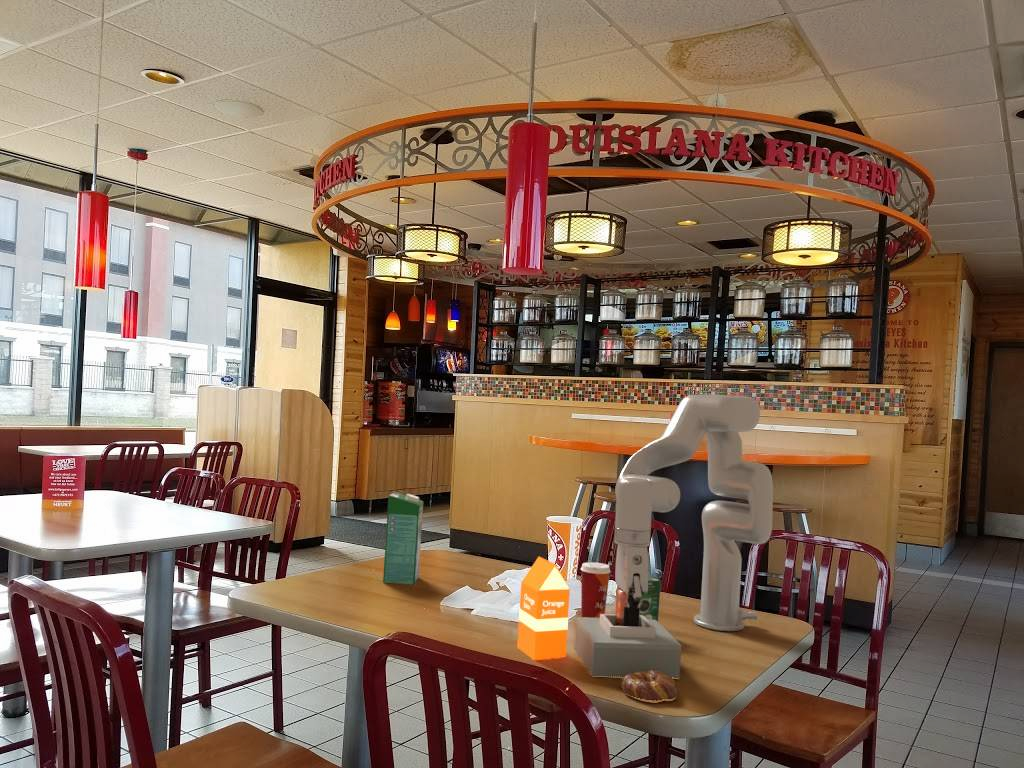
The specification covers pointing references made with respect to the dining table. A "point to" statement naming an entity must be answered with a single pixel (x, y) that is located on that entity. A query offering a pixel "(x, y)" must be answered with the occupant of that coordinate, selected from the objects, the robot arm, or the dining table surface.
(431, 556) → the dining table surface
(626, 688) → the pretzel
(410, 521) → the milk carton
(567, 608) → the orange juice
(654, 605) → the coffee box
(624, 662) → the grey square box
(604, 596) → the paper cup
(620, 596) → the spout can
